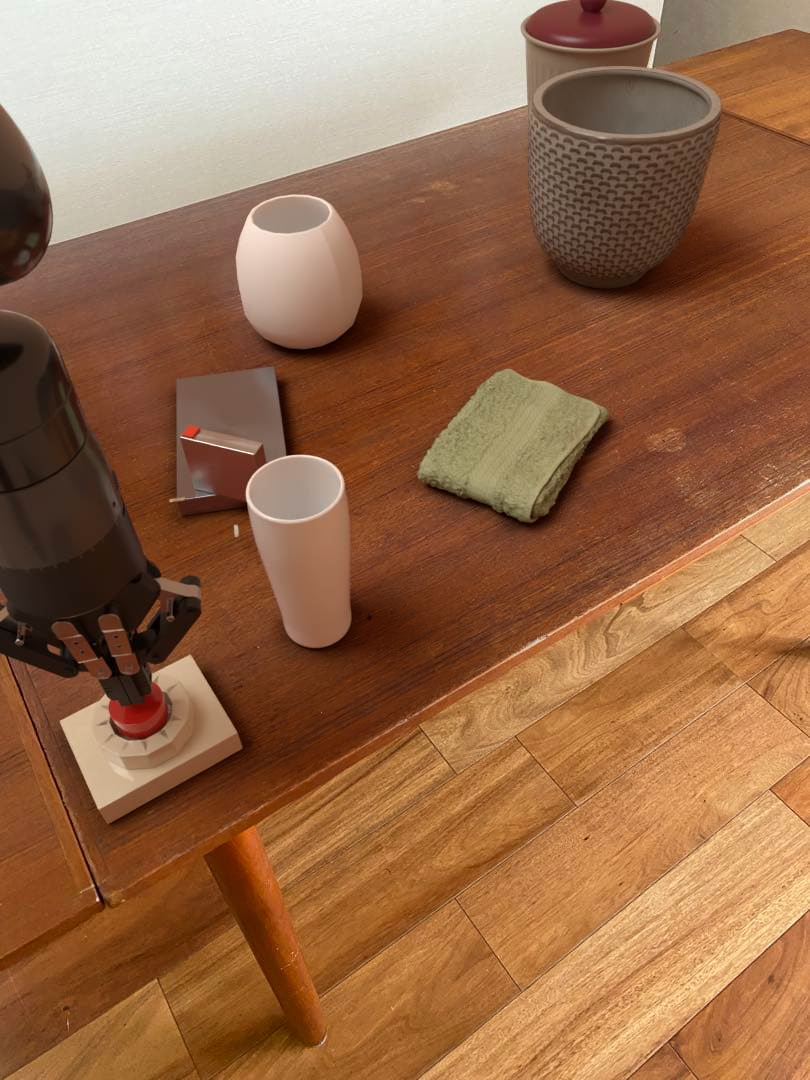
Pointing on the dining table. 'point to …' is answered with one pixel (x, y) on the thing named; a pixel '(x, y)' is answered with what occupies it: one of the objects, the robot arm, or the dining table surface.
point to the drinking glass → (304, 544)
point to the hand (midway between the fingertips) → (134, 693)
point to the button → (141, 715)
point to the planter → (617, 168)
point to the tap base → (227, 425)
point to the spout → (221, 461)
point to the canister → (585, 38)
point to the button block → (151, 743)
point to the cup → (298, 272)
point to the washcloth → (513, 445)
